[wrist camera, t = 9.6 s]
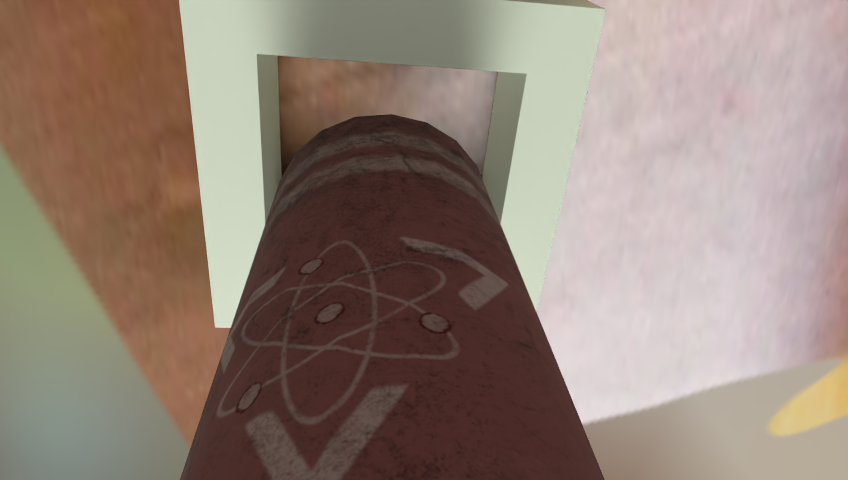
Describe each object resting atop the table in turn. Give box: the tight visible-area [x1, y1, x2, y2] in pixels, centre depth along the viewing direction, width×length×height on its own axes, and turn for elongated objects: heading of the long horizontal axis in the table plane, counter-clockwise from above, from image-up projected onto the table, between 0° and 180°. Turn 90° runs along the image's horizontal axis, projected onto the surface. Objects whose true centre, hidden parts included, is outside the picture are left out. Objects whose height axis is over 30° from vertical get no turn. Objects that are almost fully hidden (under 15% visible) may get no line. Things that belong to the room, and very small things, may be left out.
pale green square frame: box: [179, 0, 606, 328], centre depth 21 cm, size 12×12×4 cm
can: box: [180, 114, 604, 480], centre depth 11 cm, size 6×6×14 cm
